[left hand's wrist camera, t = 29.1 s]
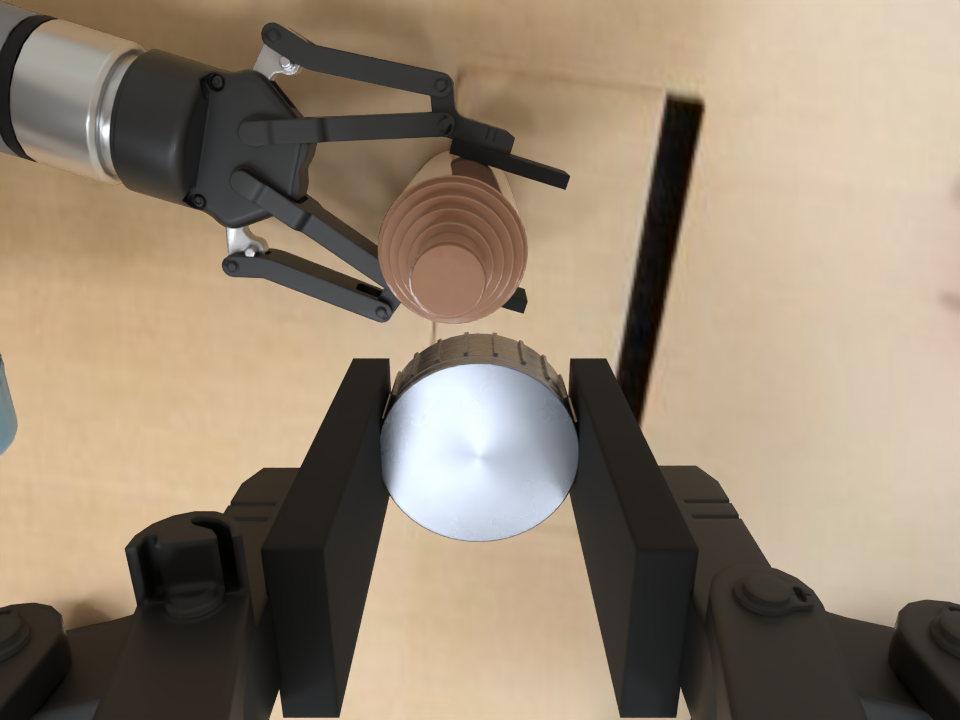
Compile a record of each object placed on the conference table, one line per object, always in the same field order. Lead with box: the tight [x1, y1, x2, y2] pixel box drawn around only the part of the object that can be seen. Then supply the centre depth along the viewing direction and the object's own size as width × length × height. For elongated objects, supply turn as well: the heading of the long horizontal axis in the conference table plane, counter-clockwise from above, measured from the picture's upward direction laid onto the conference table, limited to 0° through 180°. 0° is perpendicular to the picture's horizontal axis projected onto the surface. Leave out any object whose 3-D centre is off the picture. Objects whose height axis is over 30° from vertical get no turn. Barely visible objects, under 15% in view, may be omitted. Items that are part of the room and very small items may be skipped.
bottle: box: [378, 150, 528, 324], centre depth 35 cm, size 6×6×21 cm
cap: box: [380, 332, 579, 542], centre depth 14 cm, size 4×4×2 cm
